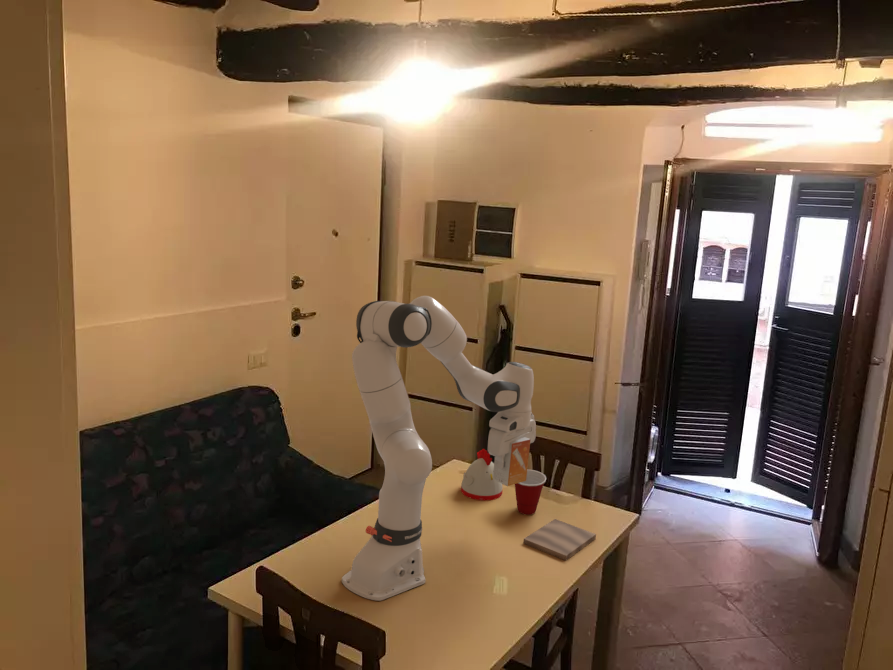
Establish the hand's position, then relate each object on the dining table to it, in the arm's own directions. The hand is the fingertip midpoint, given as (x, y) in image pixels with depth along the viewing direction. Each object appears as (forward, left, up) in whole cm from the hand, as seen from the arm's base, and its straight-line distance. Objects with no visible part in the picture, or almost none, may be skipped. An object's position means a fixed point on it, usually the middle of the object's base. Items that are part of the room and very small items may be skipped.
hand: (510, 463), depth 213 cm
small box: (0, 0, -5) cm, 5 cm away
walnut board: (+8, -14, -22) cm, 28 cm away
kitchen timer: (+20, +23, -23) cm, 38 cm away
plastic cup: (+18, +4, -23) cm, 29 cm away
